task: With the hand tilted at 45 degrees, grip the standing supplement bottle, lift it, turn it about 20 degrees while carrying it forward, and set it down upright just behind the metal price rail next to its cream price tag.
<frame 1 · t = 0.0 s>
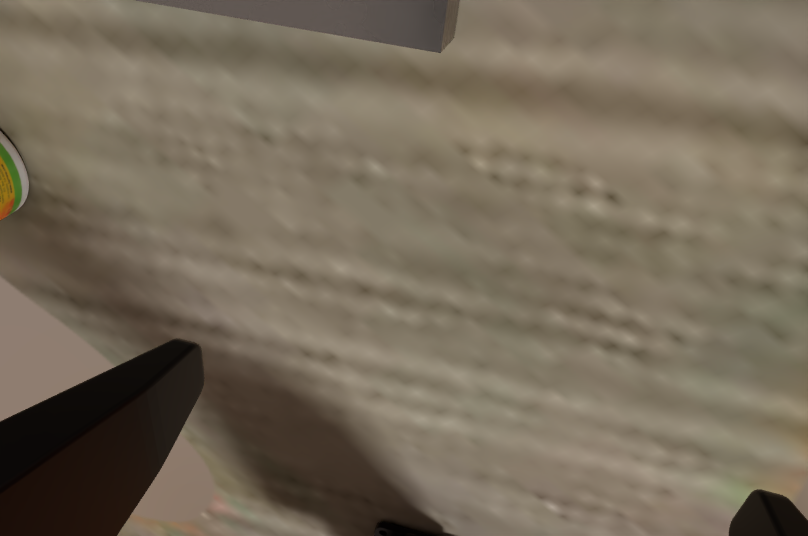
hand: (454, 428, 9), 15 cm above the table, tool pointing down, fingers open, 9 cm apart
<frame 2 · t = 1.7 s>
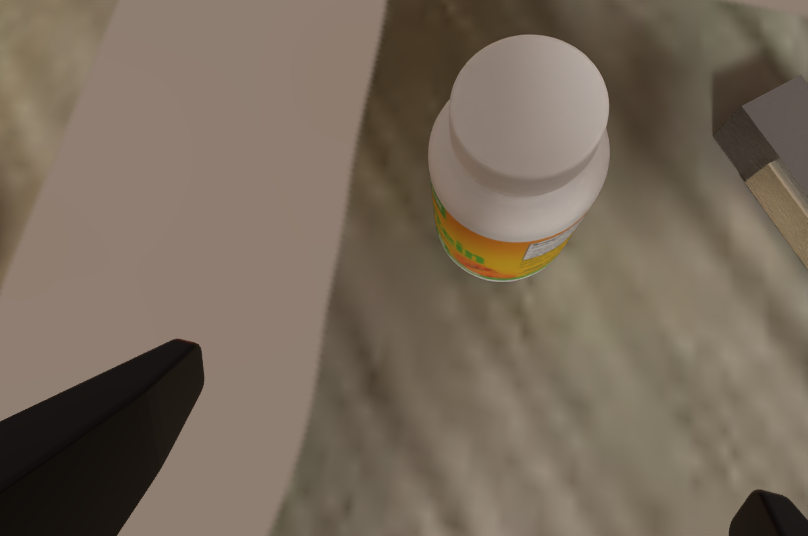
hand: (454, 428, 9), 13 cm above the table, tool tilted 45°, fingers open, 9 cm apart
supplement bottle: (500, 221, 24), on the table
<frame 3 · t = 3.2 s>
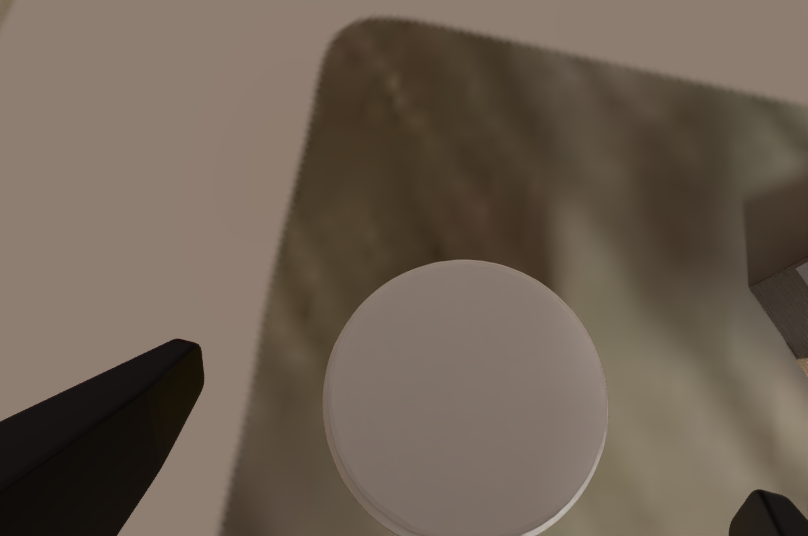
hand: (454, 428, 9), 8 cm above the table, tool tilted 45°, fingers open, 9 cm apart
supplement bottle: (460, 401, 18), on the table
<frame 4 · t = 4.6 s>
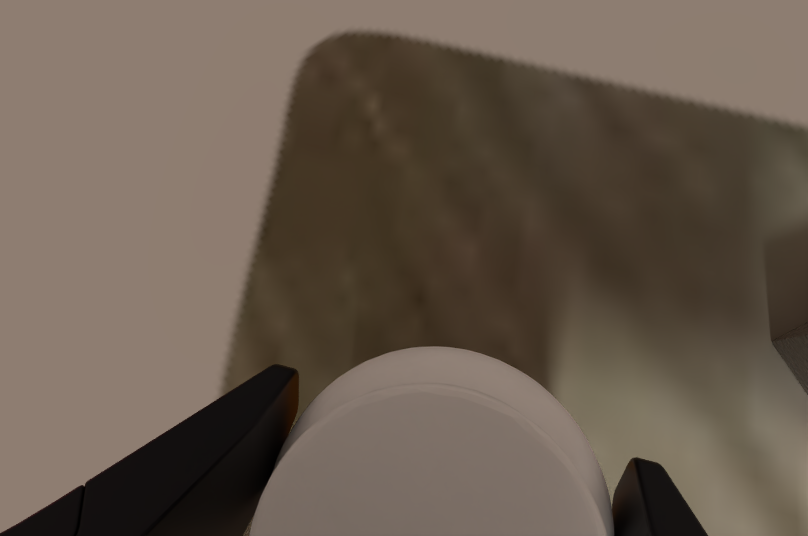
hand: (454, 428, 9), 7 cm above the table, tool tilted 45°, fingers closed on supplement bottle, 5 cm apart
supplement bottle: (444, 469, 16), on the table, touching gripper
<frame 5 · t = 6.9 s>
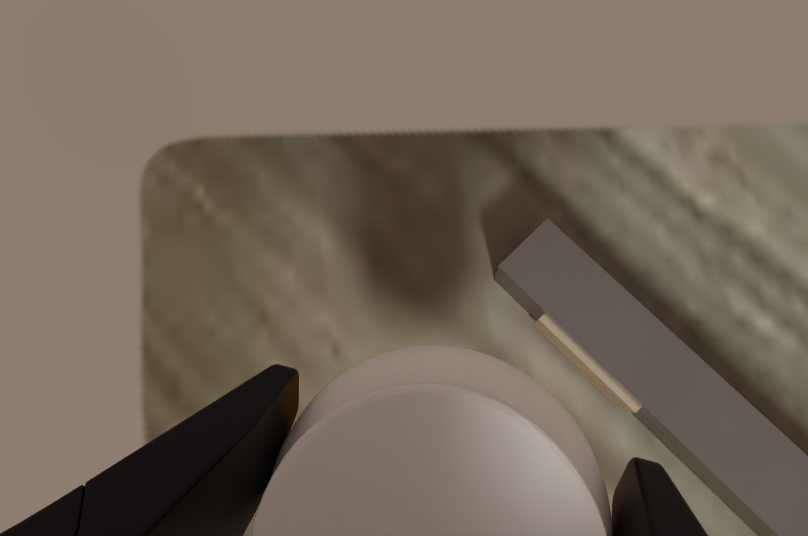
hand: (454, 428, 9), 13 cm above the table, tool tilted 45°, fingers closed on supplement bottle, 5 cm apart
supplement bottle: (443, 466, 16), point 6 cm above the table, touching gripper
price rail: (729, 459, 21), on the table
when the fingers open (8 cm above the table, at t = 9.2 s): supplement bottle drops 1 cm, on the table.
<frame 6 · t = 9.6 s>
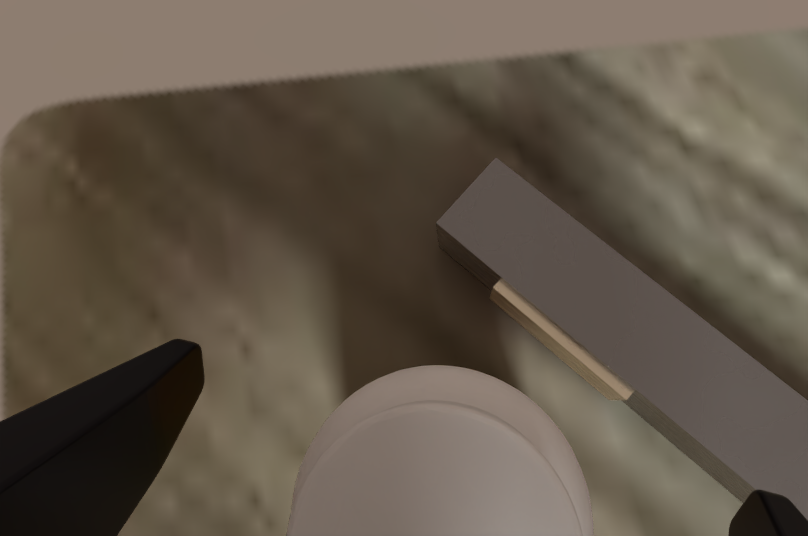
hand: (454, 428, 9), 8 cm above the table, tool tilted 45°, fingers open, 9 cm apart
supplement bottle: (446, 471, 17), on the table
price rail: (751, 452, 16), on the table
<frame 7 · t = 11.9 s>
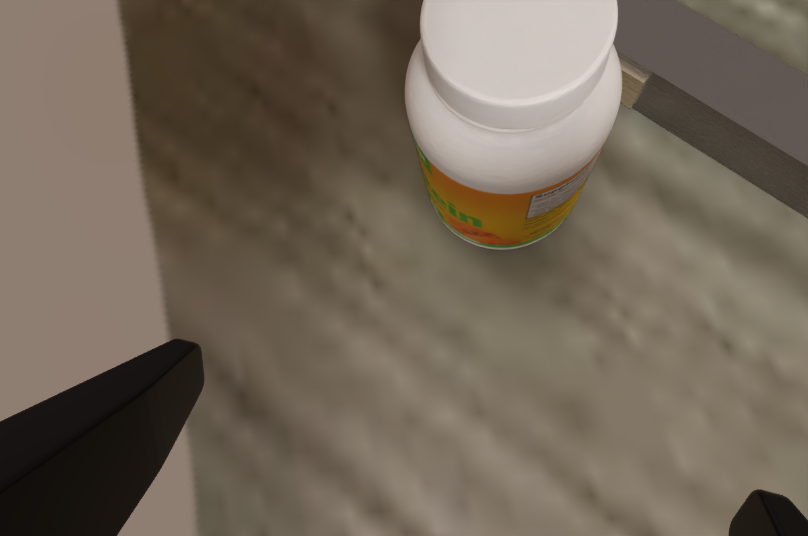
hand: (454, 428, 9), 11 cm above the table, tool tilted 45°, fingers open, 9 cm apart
supplement bottle: (501, 182, 21), on the table
price rail: (748, 139, 20), on the table
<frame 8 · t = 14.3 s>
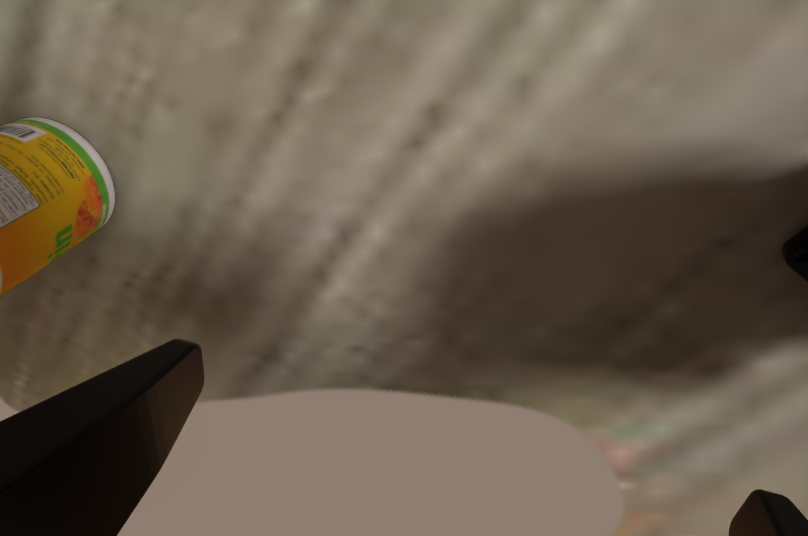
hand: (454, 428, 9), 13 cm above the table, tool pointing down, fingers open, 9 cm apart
supplement bottle: (66, 173, 26), on the table
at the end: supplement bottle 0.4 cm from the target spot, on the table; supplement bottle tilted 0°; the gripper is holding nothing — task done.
